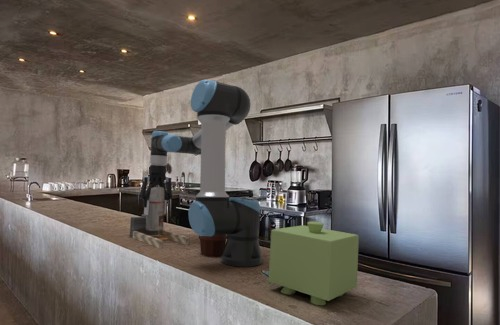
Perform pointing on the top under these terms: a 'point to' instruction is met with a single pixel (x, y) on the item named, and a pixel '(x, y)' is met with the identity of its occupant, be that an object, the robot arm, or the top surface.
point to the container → (314, 261)
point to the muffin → (212, 245)
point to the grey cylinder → (155, 210)
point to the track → (153, 234)
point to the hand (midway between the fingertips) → (155, 214)
